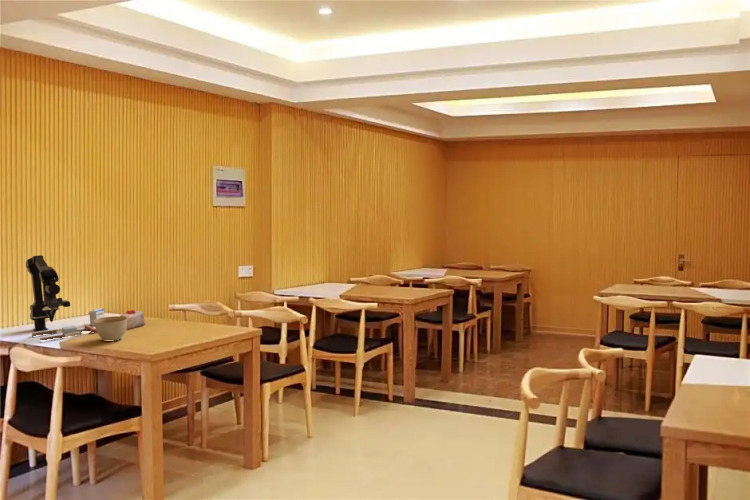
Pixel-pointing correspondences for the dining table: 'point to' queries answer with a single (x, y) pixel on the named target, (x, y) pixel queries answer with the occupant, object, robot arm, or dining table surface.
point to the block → (69, 330)
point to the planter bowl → (111, 327)
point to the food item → (134, 319)
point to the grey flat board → (87, 327)
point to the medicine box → (96, 315)
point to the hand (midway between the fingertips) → (51, 321)
